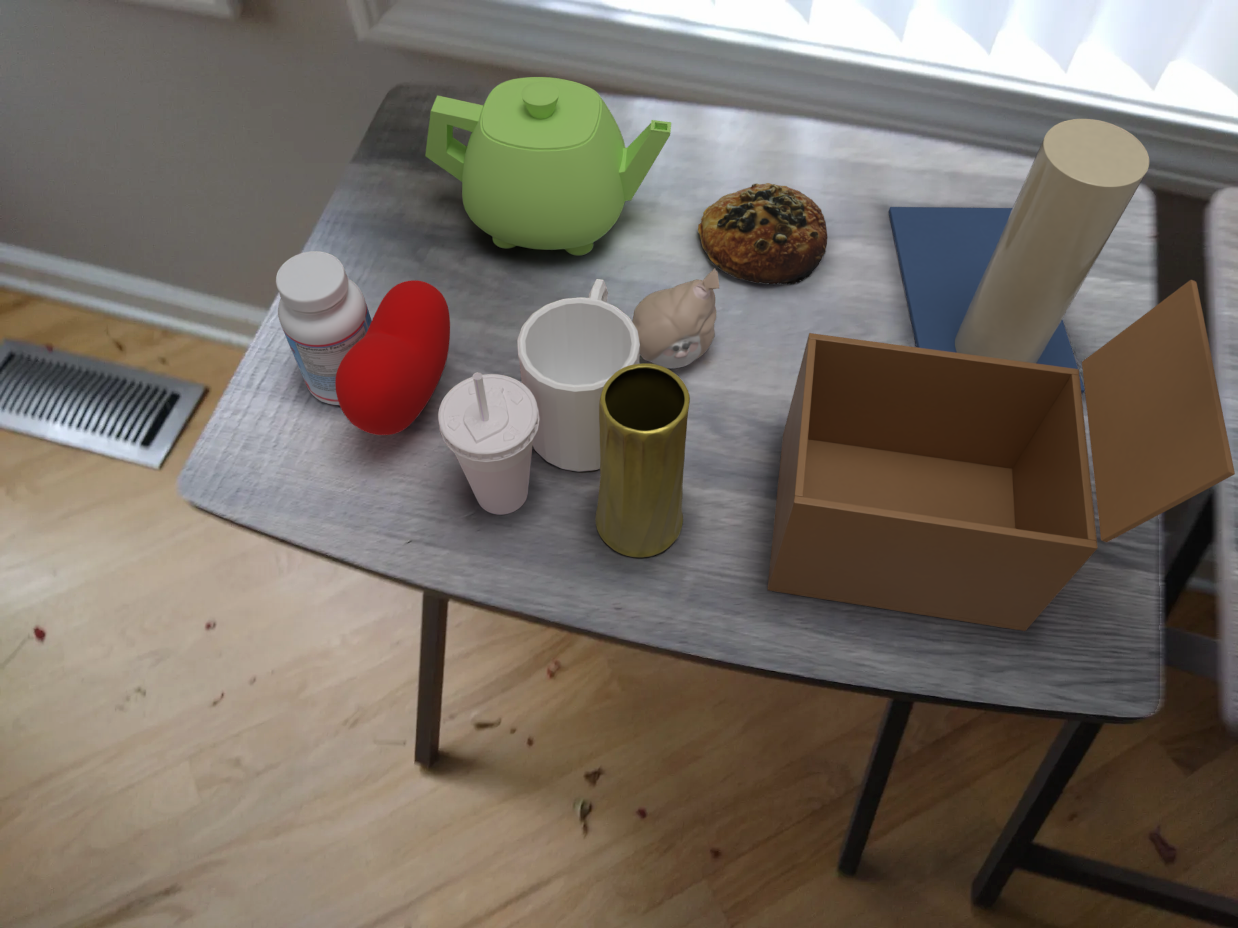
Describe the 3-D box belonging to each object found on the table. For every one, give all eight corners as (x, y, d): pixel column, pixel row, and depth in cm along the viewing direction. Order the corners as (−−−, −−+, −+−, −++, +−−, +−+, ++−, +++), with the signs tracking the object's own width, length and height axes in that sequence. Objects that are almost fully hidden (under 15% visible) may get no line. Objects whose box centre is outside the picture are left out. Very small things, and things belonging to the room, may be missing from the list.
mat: (1082, 395, 75) (1085, 390, 75) (925, 393, 75) (927, 388, 75) (1024, 213, 86) (1027, 207, 86) (888, 211, 86) (889, 206, 86)
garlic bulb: (705, 390, 75) (714, 320, 69) (623, 376, 76) (624, 305, 69) (717, 325, 79) (727, 253, 72) (639, 313, 79) (642, 240, 73)
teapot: (672, 175, 89) (680, 49, 78) (656, 284, 81) (663, 161, 71) (454, 155, 90) (433, 29, 79) (420, 260, 83) (392, 137, 72)
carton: (1016, 467, 72) (1079, 368, 62) (1025, 631, 65) (1098, 548, 55) (782, 434, 73) (809, 332, 63) (767, 590, 66) (793, 502, 56)
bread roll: (792, 308, 80) (795, 258, 76) (674, 267, 84) (672, 219, 80) (851, 231, 85) (856, 182, 81) (737, 197, 90) (738, 148, 86)
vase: (583, 543, 68) (577, 423, 56) (612, 473, 71) (612, 345, 59) (667, 569, 67) (680, 453, 55) (693, 496, 70) (710, 371, 58)
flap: (1081, 361, 61) (1086, 364, 61) (1100, 540, 54) (1106, 543, 54) (1190, 279, 55) (1196, 281, 55) (1229, 471, 48) (1235, 474, 48)
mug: (653, 354, 77) (659, 264, 69) (624, 480, 71) (626, 398, 62) (554, 338, 78) (547, 247, 70) (516, 462, 72) (503, 378, 63)
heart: (409, 485, 70) (382, 401, 62) (342, 463, 71) (306, 377, 63) (477, 365, 76) (461, 274, 68) (414, 346, 77) (390, 254, 69)
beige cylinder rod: (1054, 352, 77) (1170, 156, 61) (1003, 394, 74) (1110, 201, 59) (988, 305, 79) (1083, 105, 64) (937, 344, 77) (1022, 147, 61)
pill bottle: (318, 344, 77) (278, 239, 68) (394, 350, 77) (364, 245, 68) (297, 406, 74) (252, 304, 65) (377, 412, 74) (342, 311, 64)
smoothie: (444, 520, 69) (410, 400, 57) (473, 447, 72) (447, 319, 61) (532, 539, 68) (516, 421, 56) (557, 464, 71) (547, 338, 60)
